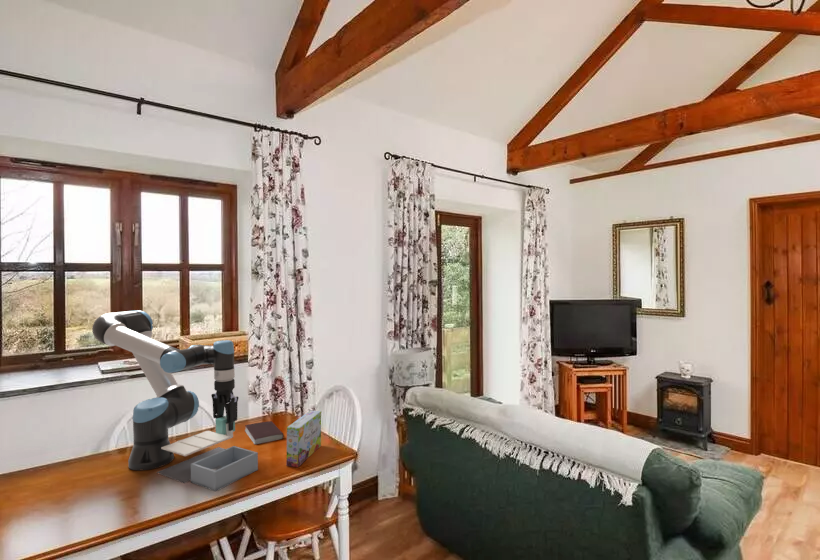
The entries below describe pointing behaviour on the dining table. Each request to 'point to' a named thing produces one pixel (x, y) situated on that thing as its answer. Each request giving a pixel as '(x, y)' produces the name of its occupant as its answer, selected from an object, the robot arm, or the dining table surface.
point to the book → (263, 432)
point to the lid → (200, 439)
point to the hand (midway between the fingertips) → (225, 437)
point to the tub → (224, 467)
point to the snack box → (303, 438)
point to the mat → (186, 467)
